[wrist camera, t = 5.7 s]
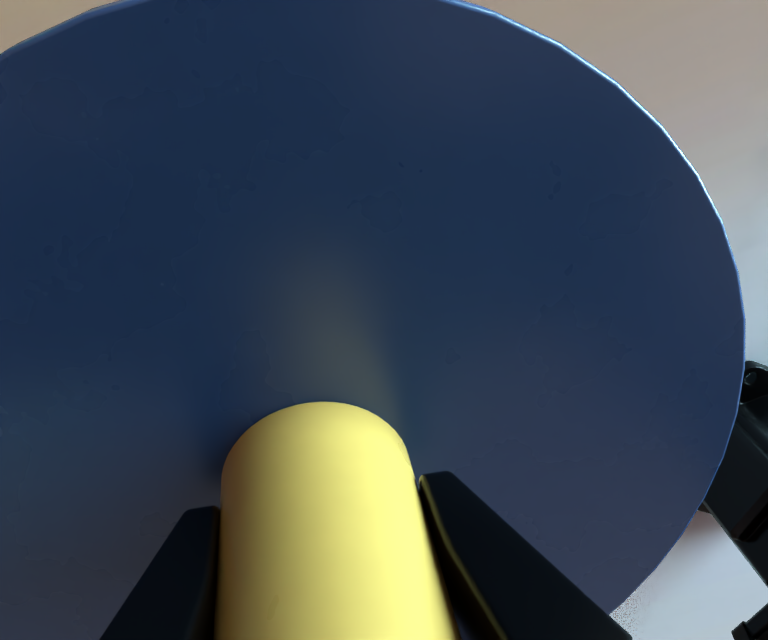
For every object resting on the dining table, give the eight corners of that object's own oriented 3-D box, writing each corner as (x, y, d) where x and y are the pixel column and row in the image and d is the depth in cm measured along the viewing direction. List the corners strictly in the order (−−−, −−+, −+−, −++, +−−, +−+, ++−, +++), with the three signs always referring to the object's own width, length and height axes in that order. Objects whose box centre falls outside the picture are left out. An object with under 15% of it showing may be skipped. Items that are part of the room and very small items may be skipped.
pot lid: (649, 627, 15) (839, 971, 10) (6, 743, 13) (-129, 1208, 9) (787, -67, 9) (1468, -40, 4) (-387, 11, 7) (-1663, 219, 2)
